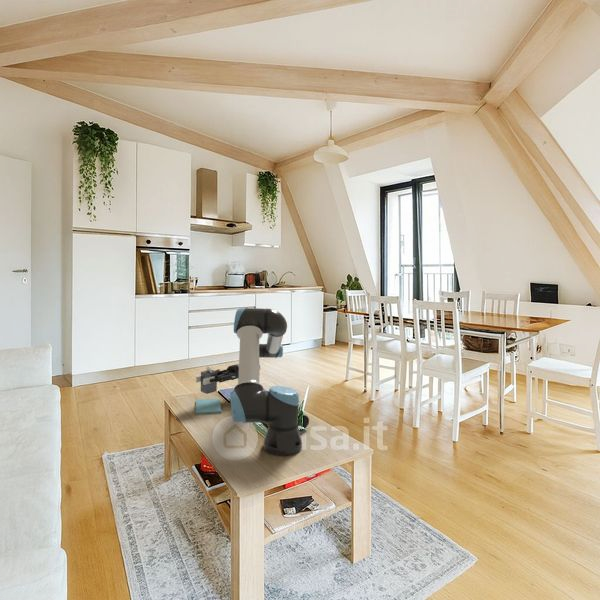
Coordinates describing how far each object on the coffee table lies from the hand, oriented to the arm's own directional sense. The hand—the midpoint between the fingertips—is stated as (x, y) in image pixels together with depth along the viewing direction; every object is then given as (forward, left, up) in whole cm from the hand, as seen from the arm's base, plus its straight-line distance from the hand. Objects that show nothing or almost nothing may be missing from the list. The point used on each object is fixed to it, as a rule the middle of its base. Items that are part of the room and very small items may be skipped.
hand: (200, 380), depth 181 cm
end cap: (-27, -42, -15) cm, 52 cm away
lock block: (+3, -4, -6) cm, 8 cm away
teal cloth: (+4, -4, -15) cm, 16 cm away
